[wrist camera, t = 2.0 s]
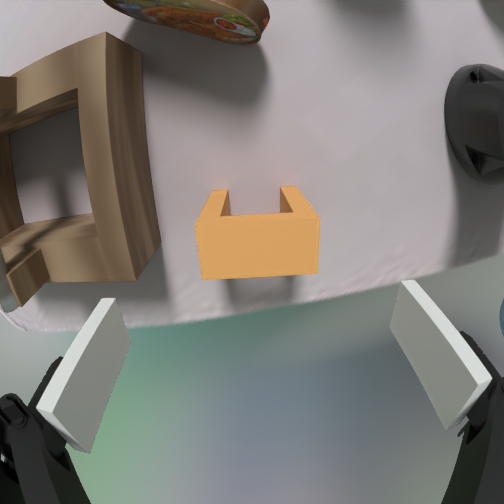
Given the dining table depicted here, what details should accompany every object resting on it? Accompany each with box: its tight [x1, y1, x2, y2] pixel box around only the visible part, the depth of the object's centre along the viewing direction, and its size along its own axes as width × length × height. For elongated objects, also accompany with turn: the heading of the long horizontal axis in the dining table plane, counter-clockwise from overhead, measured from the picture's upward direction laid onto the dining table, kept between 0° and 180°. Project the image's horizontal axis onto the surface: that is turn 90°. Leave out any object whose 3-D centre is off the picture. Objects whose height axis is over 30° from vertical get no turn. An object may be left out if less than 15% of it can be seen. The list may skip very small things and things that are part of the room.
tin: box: [103, 0, 270, 45], centre depth 16 cm, size 15×3×8 cm, turn 66°
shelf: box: [0, 32, 161, 313], centre depth 19 cm, size 22×20×14 cm
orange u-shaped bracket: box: [195, 186, 320, 280], centre depth 23 cm, size 8×4×10 cm, turn 93°
